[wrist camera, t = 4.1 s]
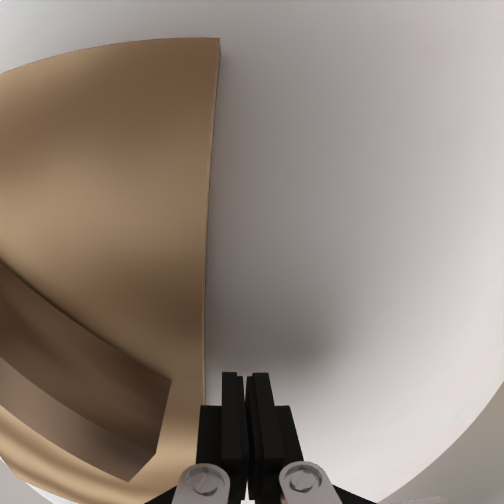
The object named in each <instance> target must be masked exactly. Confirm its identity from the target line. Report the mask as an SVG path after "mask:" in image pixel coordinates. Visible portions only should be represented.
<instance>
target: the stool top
mask: <svg viewBox="0 0 504 504" xmlns="http://www.w3.org/2000/svg"><path fill="white" fill-rule="evenodd" d="M220 56H221V49H220V38H168V39H153V40H142V41H132V42H124V43H117V44H110V45H104V46H98V47H93V48H88V49H83V50H78V51H74V52H69V53H65V54H61V55H57V56H53V57H50V58H46V59H43V60H39V61H36V62H33V63H30V64H27V65H24V66H21V67H18V68H15V69H12V70H9V71H7V72H4V73H2V74H0V262H1V263H2V264H3V265H5V266H6V267H7V268H8V269H9V270H10V271H11V272H12V273H13V274H15V275H16V276H17V277H18V278H19V279H20V280H22V281H23V282H24V283H25V284H26V285H27V286H29V287H30V288H31V289H32V290H33V291H35V292H36V293H37V294H38V295H40V296H41V297H42V298H43V299H45V300H46V301H47V302H49V303H50V304H51V305H52V306H54V307H55V308H56V309H58V310H59V311H60V312H62V313H63V314H65V315H66V316H67V317H69V318H70V319H71V320H73V321H74V322H76V323H77V324H79V325H80V326H81V327H83V328H84V329H86V330H87V331H89V332H90V333H92V334H93V335H95V336H96V337H98V338H99V339H101V340H102V341H104V342H106V343H107V344H109V345H110V346H112V347H114V348H115V349H117V350H118V351H120V352H122V353H123V354H125V355H127V356H128V357H130V358H132V359H134V360H135V361H137V362H139V363H141V364H142V365H144V366H146V367H148V368H149V369H151V370H153V371H155V372H157V373H159V374H161V375H162V376H164V377H166V378H168V379H170V380H172V383H171V387H170V391H169V395H168V400H167V404H166V408H165V413H164V417H163V422H162V427H161V431H160V436H159V441H158V446H157V450H156V454H155V455H154V456H153V457H152V458H151V460H150V461H149V462H148V463H147V464H146V465H145V466H144V467H143V468H142V469H141V470H140V471H139V472H138V473H137V474H136V475H135V476H134V477H133V478H132V479H131V480H130V481H129V482H126V481H123V480H121V479H119V478H117V477H114V476H112V475H110V474H108V473H106V472H104V471H102V470H100V469H98V468H96V467H94V466H92V465H90V464H88V463H86V462H84V461H82V460H81V459H79V458H77V457H75V456H73V455H72V454H70V453H68V452H66V451H65V450H63V449H61V448H60V447H58V446H57V445H55V444H53V443H52V442H50V441H49V440H47V439H46V438H44V437H43V436H41V435H40V434H38V433H37V432H35V431H34V430H32V429H31V428H30V427H28V426H27V425H25V424H24V423H23V422H21V421H20V420H19V419H17V418H16V417H15V416H14V415H12V414H11V413H10V412H8V411H7V410H6V409H5V408H4V407H2V406H1V405H0V456H1V458H2V459H3V460H4V462H5V463H6V464H7V466H8V467H9V468H10V469H11V471H12V472H13V473H14V474H15V476H16V477H17V478H19V479H21V480H23V481H25V482H27V483H29V484H31V485H33V486H36V487H38V488H40V489H42V490H45V491H47V492H49V493H52V494H54V495H57V496H59V497H62V498H65V499H67V500H70V501H73V502H76V503H79V504H144V503H146V502H148V501H150V500H152V499H153V498H155V497H157V496H159V495H161V494H162V493H164V492H166V491H168V490H170V489H171V488H173V487H175V486H176V485H178V482H179V479H180V476H181V474H182V472H183V471H184V470H185V469H187V468H188V467H190V466H192V465H194V464H196V451H197V439H198V427H199V415H200V406H201V405H205V270H206V240H207V217H208V198H209V180H210V165H211V151H212V138H213V126H214V114H215V103H216V93H217V83H218V74H219V65H220Z"/></svg>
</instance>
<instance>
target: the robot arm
mask: <svg viewBox="0 0 504 504" xmlns="http://www.w3.org/2000/svg"><path fill="white" fill-rule="evenodd" d="M247 482H248V494H249V500H255V504H377V503H374V502H372V501H369V500H367V499H364V498H362V497H359V496H357V495H355V494H352V493H350V492H348V491H345V490H343V489H341V488H339V487H337V486H335V485H332V484H331V482H330V480H329V478H328V476H327V474H326V473H325V471H324V470H323V469H322V468H321V467H320V466H318V465H317V464H314V463H312V462H307V461H304V459H303V455H302V451H301V447H300V444H299V440H298V436H297V432H296V428H295V425H294V421H293V417H292V413H291V409H290V407H289V405H287V406H275V405H274V400H273V395H272V390H271V385H270V380H269V375H268V373H253V374H252V376H247V382H246V395H245V398H244V386H243V376H237V372H222V406H210V405H201V406H200V415H199V427H198V439H197V451H196V464H194V465H192V466H190V467H188V468H187V469H185V470H184V471H183V472H182V474H181V476H180V479H179V482H178V485H176V486H175V487H173V488H171V489H170V490H168V491H166V492H164V493H162V494H161V495H159V496H157V497H155V498H153V499H152V500H150V501H148V502H146V503H144V504H241V500H245V493H246V485H247ZM393 504H451V502H450V500H448V499H447V498H445V497H442V496H434V497H430V498H425V499H419V500H413V501H407V502H400V503H393Z"/></svg>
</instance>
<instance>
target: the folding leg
mask: <svg viewBox="0 0 504 504" xmlns="http://www.w3.org/2000/svg"><path fill="white" fill-rule="evenodd" d="M171 383H172V380H170V379H168V378H166V377H164V376H162V375H161V374H159V373H157V372H155V371H153V370H151V369H149V368H148V367H146V366H144V365H142V364H141V363H139V362H137V361H135V360H134V359H132V358H130V357H128V356H127V355H125V354H123V353H122V352H120V351H118V350H117V349H115V348H114V347H112V346H110V345H109V344H107V343H106V342H104V341H102V340H101V339H99V338H98V337H96V336H95V335H93V334H92V333H90V332H89V331H87V330H86V329H84V328H83V327H81V326H80V325H79V324H77V323H76V322H74V321H73V320H71V319H70V318H69V317H67V316H66V315H65V314H63V313H62V312H60V311H59V310H58V309H56V308H55V307H54V306H52V305H51V304H50V303H49V302H47V301H46V300H45V299H43V298H42V297H41V296H40V295H38V294H37V293H36V292H35V291H33V290H32V289H31V288H30V287H29V286H27V285H26V284H25V283H24V282H23V281H22V280H20V279H19V278H18V277H17V276H16V275H15V274H13V273H12V272H11V271H10V270H9V269H8V268H7V267H6V266H5V265H3V264H2V263H1V262H0V405H1V406H2V407H4V408H5V409H6V410H7V411H8V412H10V413H11V414H12V415H14V416H15V417H16V418H17V419H19V420H20V421H21V422H23V423H24V424H25V425H27V426H28V427H30V428H31V429H32V430H34V431H35V432H37V433H38V434H40V435H41V436H43V437H44V438H46V439H47V440H49V441H50V442H52V443H53V444H55V445H57V446H58V447H60V448H61V449H63V450H65V451H66V452H68V453H70V454H72V455H73V456H75V457H77V458H79V459H81V460H82V461H84V462H86V463H88V464H90V465H92V466H94V467H96V468H98V469H100V470H102V471H104V472H106V473H108V474H110V475H112V476H114V477H117V478H119V479H121V480H123V481H126V482H129V481H130V480H131V479H132V478H133V477H134V476H135V475H136V474H137V473H138V472H139V471H140V470H141V469H142V468H143V467H144V466H145V465H146V464H147V463H148V462H149V461H150V460H151V458H152V457H153V456H154V455H155V454H156V450H157V446H158V441H159V436H160V431H161V427H162V422H163V417H164V413H165V408H166V404H167V400H168V395H169V391H170V387H171Z"/></svg>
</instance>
